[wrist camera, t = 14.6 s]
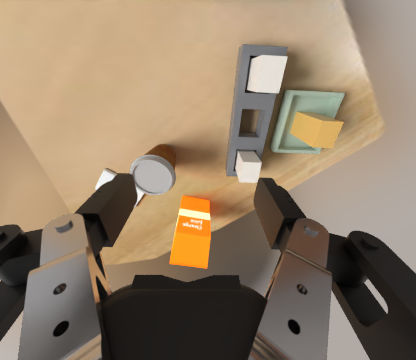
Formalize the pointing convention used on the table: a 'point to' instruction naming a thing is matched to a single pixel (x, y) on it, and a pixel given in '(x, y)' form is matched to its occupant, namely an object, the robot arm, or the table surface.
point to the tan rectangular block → (316, 129)
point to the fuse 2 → (265, 73)
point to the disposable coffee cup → (155, 170)
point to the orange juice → (192, 233)
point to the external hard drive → (108, 176)
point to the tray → (301, 102)
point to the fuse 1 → (247, 165)
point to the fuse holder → (249, 106)
